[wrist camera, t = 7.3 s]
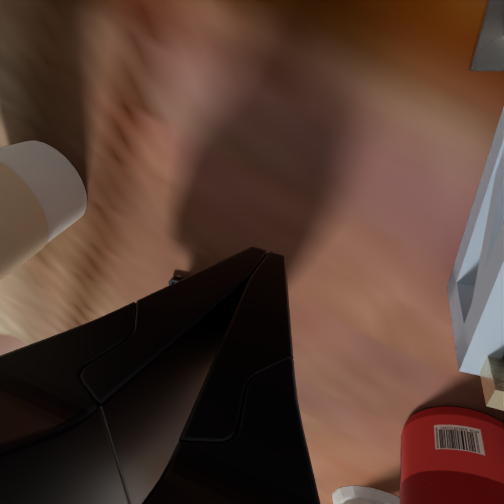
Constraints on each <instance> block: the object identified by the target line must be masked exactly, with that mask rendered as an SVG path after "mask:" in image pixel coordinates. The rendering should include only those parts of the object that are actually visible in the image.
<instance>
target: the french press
mask: <svg viewBox="0 0 504 504" xmlns="http://www.w3.org/2000/svg"><path fill="white" fill-rule="evenodd" d="M333 503H334V504H400V498H399V497H397V496H395V495H393V494H391V493H387V492H384V491H381V490H377V489H374V488H371V487H361V486H347V487H342V488H338V489H337V490H336V491H335V492H334V493H333Z"/></svg>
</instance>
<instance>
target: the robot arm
mask: <svg viewBox="0 0 504 504" xmlns="http://www.w3.org/2000/svg"><path fill="white" fill-rule="evenodd" d="M0 504H320V500H319V496H318V492H317V487H316V483H315V478H314V474H313V470H312V465H311V461H310V457H309V452H308V448H307V443H306V439H305V435H304V430H303V426H302V420H301V415H300V410H299V404H298V398H297V390H296V382H295V372H294V361H293V349H292V336H291V323H290V310H289V297H288V284H287V271H286V259H285V256H283V255H280V254H277V253H273V252H269V253H268V252H267V251H266V250H263V249H260V248H256V247H250V248H248V249H246V250H244V251H242V252H240V253H237V254H235V255H233V256H231V257H229V258H227V259H225V260H223V261H220V262H218V263H216V264H214V265H212V266H210V267H208V268H205V269H203V270H201V271H199V272H197V273H195V274H193V275H191V276H188V277H186V278H184V279H183V278H178V277H172V278H171V279H170V281H169V286H167V287H165V288H163V289H161V290H159V291H157V292H154V293H152V294H150V295H148V296H146V297H144V298H142V299H140V300H138V301H137V302H136V303H135V302H133V303H131V304H129V305H127V306H124V307H122V308H120V309H118V310H116V311H114V312H111V313H109V314H107V315H104V316H102V317H100V318H98V319H95V320H93V321H91V322H88V323H85V324H83V325H80V326H78V327H75V328H73V329H70V330H68V331H65V332H63V333H60V334H57V335H55V336H52V337H49V338H46V339H44V340H41V341H38V342H36V343H33V344H30V345H28V346H25V347H22V348H20V349H17V350H14V351H12V352H9V353H6V354H4V355H1V356H0Z"/></svg>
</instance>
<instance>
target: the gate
mask: <svg viewBox="0 0 504 504" xmlns="http://www.w3.org/2000/svg"><path fill="white" fill-rule="evenodd" d="M447 291H448V298H449V305H450V311H451V318H452V325H453V332H454V339H455V346H456V353H457V360H458V367H459V371H461V372H466V373H470V374H475V375H479V376H480V373H479V372H480V370H481V368H482V366H483V364H484V362H485V360H486V358H487V356H490V357H494V358H499V359H502V357H503V355H504V107H503V110H502V114H501V117H500V120H499V123H498V126H497V130H496V133H495V136H494V139H493V142H492V146H491V149H490V152H489V155H488V158H487V161H486V165H485V168H484V171H483V174H482V177H481V181H480V184H479V187H478V190H477V193H476V197H475V200H474V203H473V206H472V209H471V213H470V216H469V219H468V222H467V225H466V229H465V232H464V235H463V238H462V241H461V245H460V248H459V251H458V254H457V257H456V260H455V264H454V267H453V270H452V273H451V276H450V280H449V283H448V286H447Z"/></svg>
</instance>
